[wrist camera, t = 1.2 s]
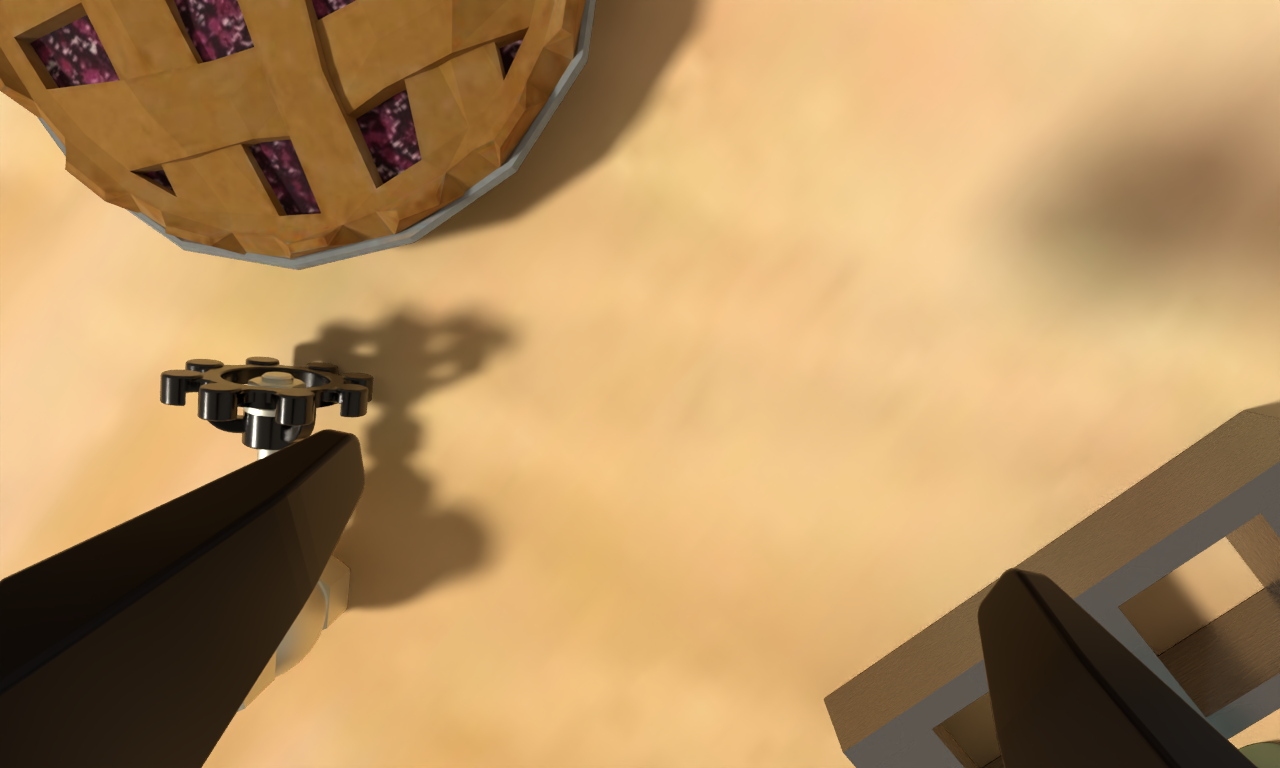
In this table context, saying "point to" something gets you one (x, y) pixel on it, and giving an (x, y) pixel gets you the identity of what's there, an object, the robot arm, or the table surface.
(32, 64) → the pie
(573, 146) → the table surface
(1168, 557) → the grey slotted block
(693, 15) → the table surface
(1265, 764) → the dowel
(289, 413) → the valve
